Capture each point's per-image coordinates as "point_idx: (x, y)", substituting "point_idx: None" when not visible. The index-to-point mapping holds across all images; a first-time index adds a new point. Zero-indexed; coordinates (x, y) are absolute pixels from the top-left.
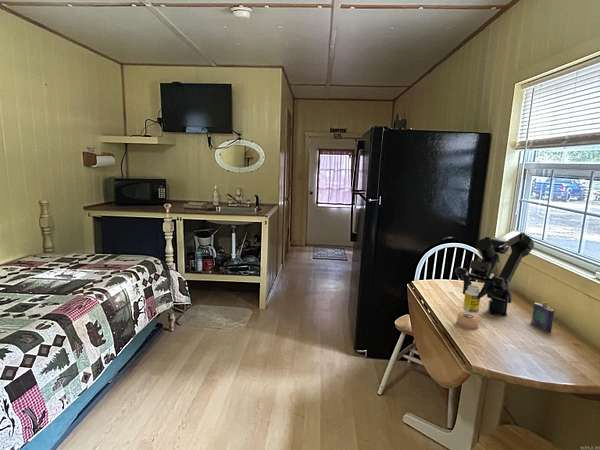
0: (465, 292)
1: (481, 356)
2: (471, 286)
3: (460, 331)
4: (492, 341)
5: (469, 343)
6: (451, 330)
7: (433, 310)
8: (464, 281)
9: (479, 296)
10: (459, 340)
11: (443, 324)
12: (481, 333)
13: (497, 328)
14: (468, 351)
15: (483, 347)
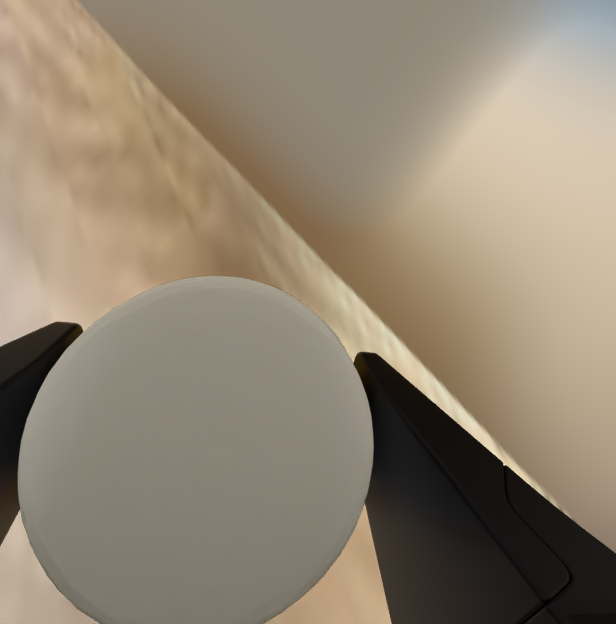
0: (330, 329)
1: (8, 42)
2: (277, 426)
3: (230, 273)
4: (4, 285)
5: (121, 150)
6: (276, 244)
7: (505, 461)
8: (605, 566)
9: (31, 336)
10: (183, 148)
11: (349, 292)
12: None
13: (34, 570)
14: (90, 54)
15: (32, 156)
